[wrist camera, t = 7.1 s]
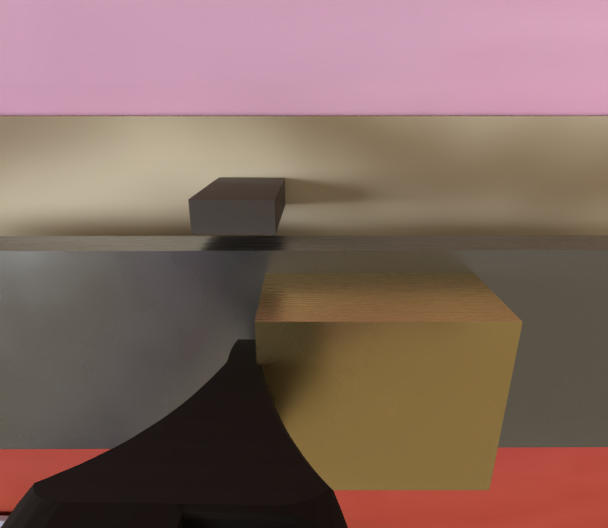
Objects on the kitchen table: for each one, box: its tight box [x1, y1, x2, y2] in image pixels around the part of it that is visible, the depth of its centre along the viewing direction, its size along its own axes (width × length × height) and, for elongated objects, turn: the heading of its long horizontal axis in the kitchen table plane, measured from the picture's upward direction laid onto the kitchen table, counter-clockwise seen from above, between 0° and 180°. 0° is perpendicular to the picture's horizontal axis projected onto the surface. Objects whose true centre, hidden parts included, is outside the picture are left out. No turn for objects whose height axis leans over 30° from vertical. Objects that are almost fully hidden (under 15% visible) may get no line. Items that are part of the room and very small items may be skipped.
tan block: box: [255, 273, 523, 490], centre depth 12 cm, size 5×6×3 cm
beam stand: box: [0, 116, 608, 236], centre depth 16 cm, size 14×28×5 cm, turn 90°
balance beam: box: [0, 235, 608, 449], centre depth 14 cm, size 7×26×2 cm, turn 90°
